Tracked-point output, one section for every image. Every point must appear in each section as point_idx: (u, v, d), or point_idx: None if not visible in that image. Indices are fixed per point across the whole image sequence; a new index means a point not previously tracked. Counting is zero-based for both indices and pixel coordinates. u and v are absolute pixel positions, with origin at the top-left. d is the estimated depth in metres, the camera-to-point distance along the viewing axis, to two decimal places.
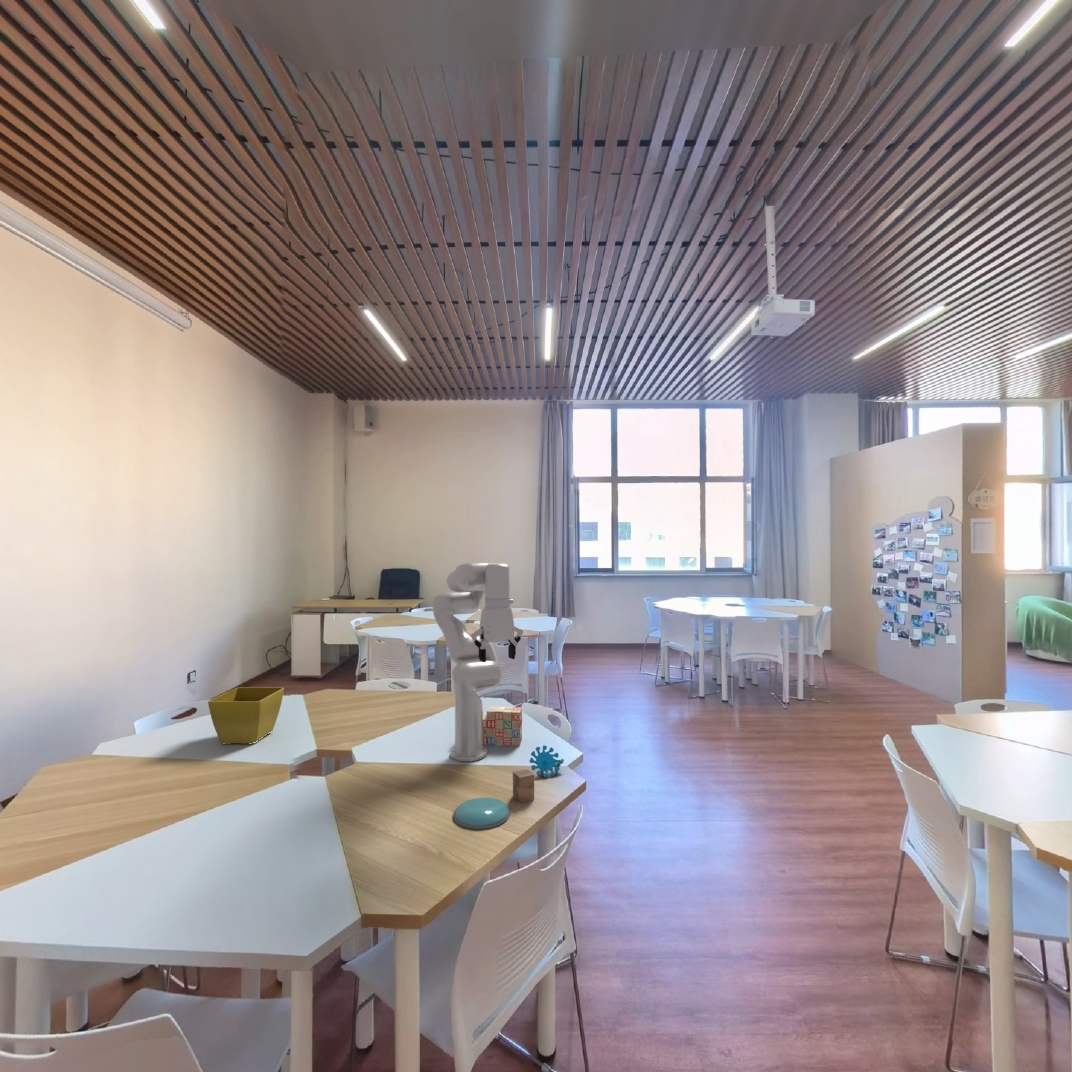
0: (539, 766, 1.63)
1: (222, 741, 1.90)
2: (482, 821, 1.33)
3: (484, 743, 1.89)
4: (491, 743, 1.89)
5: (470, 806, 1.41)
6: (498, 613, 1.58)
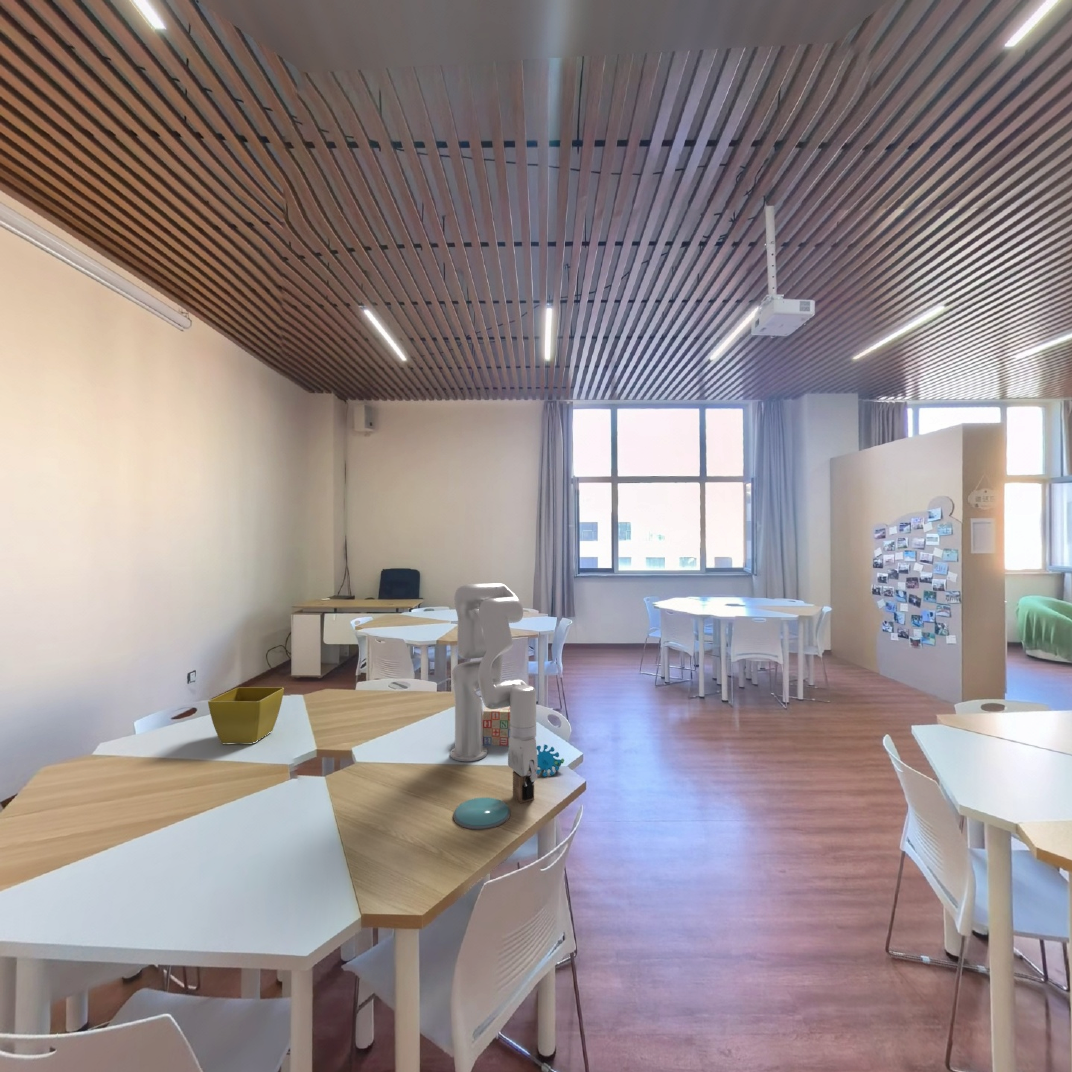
0: (538, 765, 1.64)
1: (222, 741, 1.90)
2: (482, 821, 1.33)
3: None
4: (487, 743, 1.89)
5: (470, 806, 1.41)
6: None
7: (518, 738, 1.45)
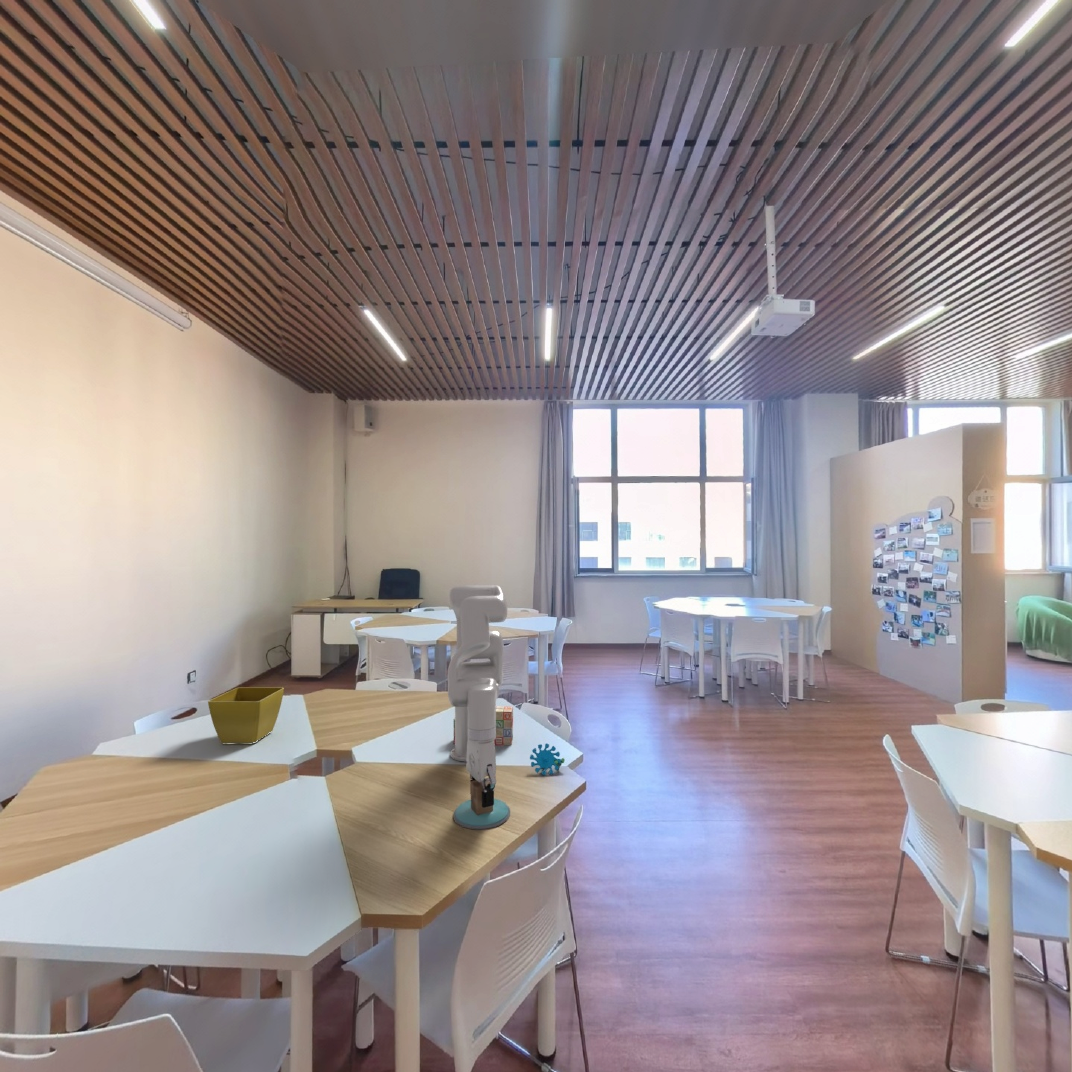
0: (538, 763, 1.65)
1: (222, 741, 1.90)
2: (482, 821, 1.33)
3: None
4: None
5: (470, 806, 1.41)
6: None
7: (475, 741, 1.36)
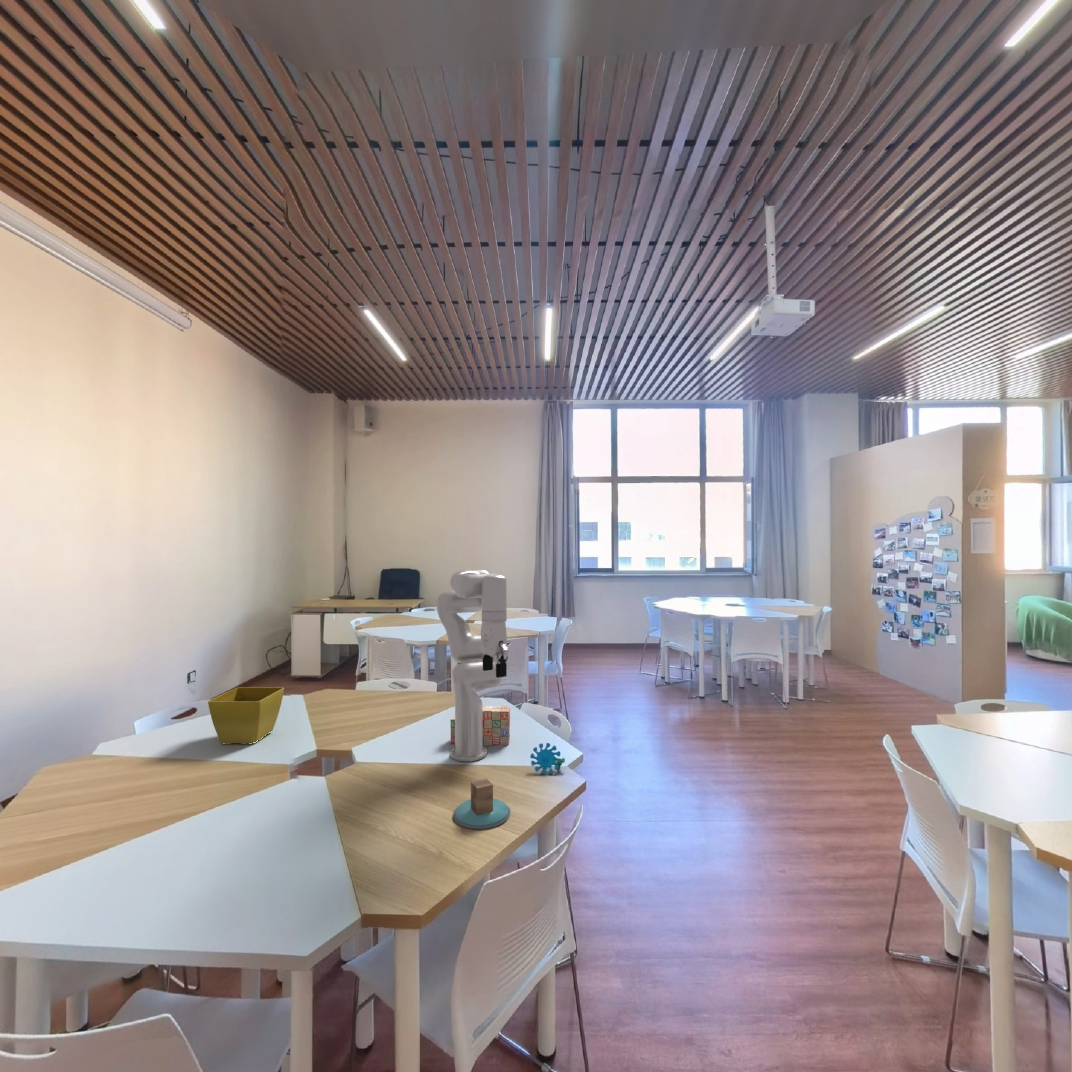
0: (538, 762, 1.66)
1: (222, 741, 1.90)
2: (482, 821, 1.33)
3: None
4: None
5: (470, 806, 1.41)
6: None
7: (489, 621, 1.54)
